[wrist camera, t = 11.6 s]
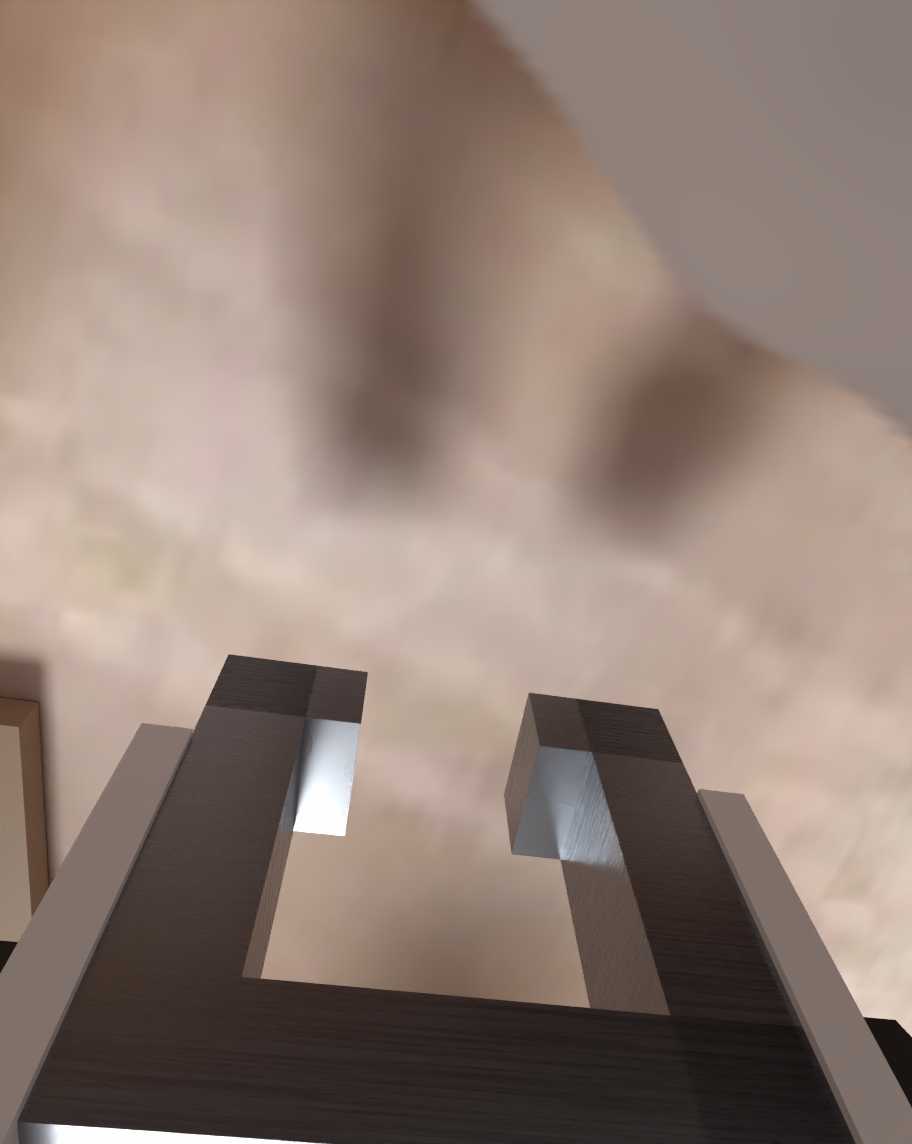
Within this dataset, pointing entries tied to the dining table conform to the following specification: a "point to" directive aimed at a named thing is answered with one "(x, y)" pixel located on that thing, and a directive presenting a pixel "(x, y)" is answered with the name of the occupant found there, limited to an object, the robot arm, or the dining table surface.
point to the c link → (418, 1020)
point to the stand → (21, 817)
